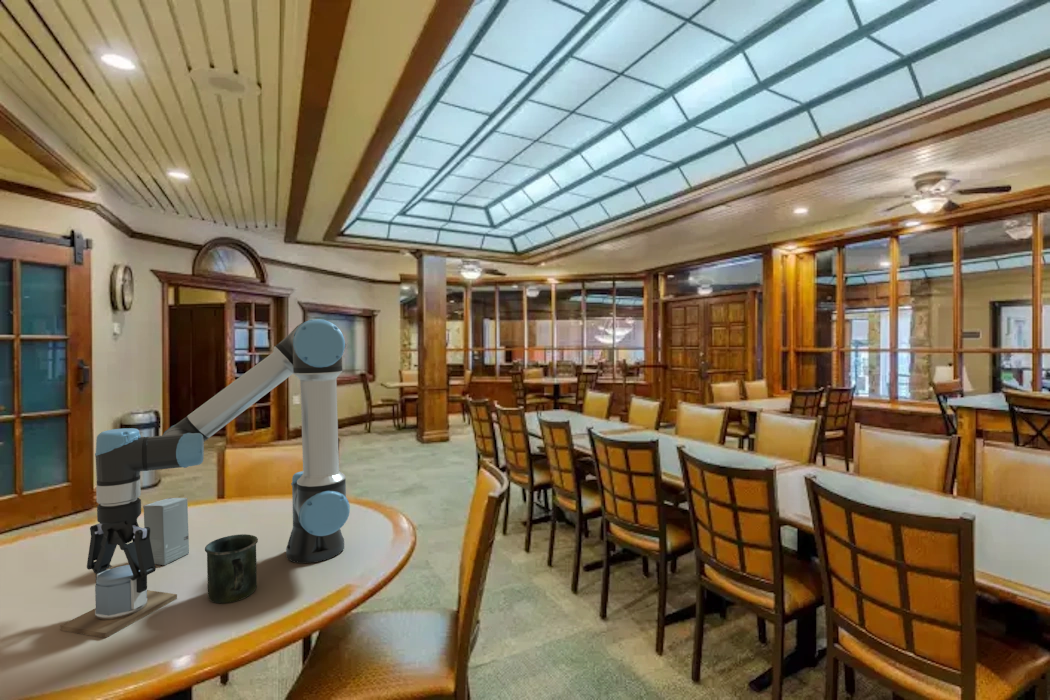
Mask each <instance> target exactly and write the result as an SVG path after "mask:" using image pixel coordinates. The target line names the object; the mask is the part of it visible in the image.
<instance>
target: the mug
mask: <svg viewBox="0 0 1050 700" xmlns="http://www.w3.org/2000/svg"><path fill="white" fill-rule="evenodd" d="M258 543H259V538H258V537H257V536H255V535H252V534H246V533H244V534H243V533H242V534H233V535H227V536H222V537H220V538H217V539H214V540H213V541H211V542H209V543H208V544H206V546H205V548H204V551H205V552H206V561H207V562H206V566H207V567H206V568H207V571H206V572H207V573H206V574H207V578H206V579H207V599H209V601H211V602H212V603H216V604H230V603H234V602H237V601H241V600H244V599H245V598H248V597H249V596H251V595H252V594H253V593H254V592H255V591H256V589H257V585H258V581H257V578H258V577H257V575H258V573H257V572H258V571H257V544H258Z"/></svg>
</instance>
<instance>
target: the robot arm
mask: <svg viewBox="0 0 1050 700" xmlns="http://www.w3.org/2000/svg"><path fill="white" fill-rule="evenodd" d="M345 347H346V340H345V336H344V334H343V332H342V331H341V329H340V328H339V327H338V326H337V325H336V324H334V323H333V322H331V321H329V320H325V319H320V318H319V319H318V318H316V319H309V320H307V321H304V322H302V323H299V324H298V325H296V326H295V327H294V328H293V329H292V330H291V332H290V333H289V334H288V335H287V336H285V337H284V338H283V339H282V340H281V341H280V342H278V343H277V344H276V345H275V346H273V350H272V351H273V352H271V353H270V354H269V355H268V356H266V357H264V358H263V359H262V360H261V361H260V362H258V363H256V365H254V366H252V367H251V368H250V369H249V370H247V371H246V372H245V373H243V374H242V375H240V376H239V377H237V378H236V379H235V380H234V381H232V382H231V383H230V384H228V385H227V386H226V387H224V388H222V389H221V390H220V391H219V392H217V393H216V394H214V396H212V397H211V398H209V399H208V400H207V401H205V402H204V403H203V404H201V405H200V406H199V407H197V408H195V410H194V411H192V412H191V413H189V414H188V415H187V416H186V417H184V418H183V419H181V420H180V421H178V422H177V423H176V424H174V425H171V426H170V427H168V429H166V430H165V431H164V432H163V434H162V435H155V436H141V433H140V430H139V429H138V428H134V427H131V428H130V427H129V428H127V427H126V428H112V429H107V430H104V431H101V432H100V433H99V434H97V436H96V439H95V440H96V444H95V445H96V446H95V453H94V457H95V474H96V484H95V485H96V488H95V489H96V493H95V494H96V496H95V497H96V503H97V504H98V505H97V507H96V519H97V520H96V521H97V522H98V523H97V524H94V525H91V526H90V527H89V530H90V531H89V532H90V541H89V548H88V554H87V555H88V556H87V562H86V563H87V564H86V568H87V570H89V571H90V570H92V571H93V573H94V574H95V579H96V578H97V576H98V575H100V574H101V573H103V572H105V571H107V570H110V569H111V568H112V567H113V566H112V565H111V562H112V559H113V557H114V554H115V551H116V548H117V546H118V547H119V549H120V550H122V551H123V553H124V555H125V558H126V561H127V562H128V565H130V568H131V571H132V573H133V576H134V577H133V578H131V609H136V608H138V607H140V606H141V605H143V604H145V603H146V590H148V575H150V574H152V573H154V572H155V571H156V564H154V558H153V553H152V548H151V542H150V528H149V527H146V528H144V527H140V525H139V524H138V518H139V517H140V516H141V514H142V499H140V498H139V497H141V495H142V494H141V472H149V471H157V470H158V471H160V470H169V469H177V468H178V469H179V468H183V469H185V468H190V467H193V466H199V465H201V464H203V462H204V459H205V458H204V455H205V446H204V445H205V442H206V441H207V440H208V439H209V438H211V437H212V436H214V435H215V434H217V432H218V431H220V430H222V429H223V428H224V427H225V426H226V425H228V424H229V423H231V422H232V421H233V420H234V419H237V417H239V416H240V415H241V414H243V412H245V411H246V410H248V409H249V408H250V407H252V406H253V405H254V404H255V403H257V402H258V401H259V400H260V399H262V398H263V397H264V396H266V395H267V394H268V393H269V392H271V391H273V390H274V389H275V388H276V387H277V386H279V385H280V384H282V383H283V382H284V381H286V379H288V378H290V377H291V376H292V375H294V376H295V377H297V379H298V380H299V383H300V384H299V385H300V410H301V411H300V413H301V414H300V416H301V417H300V419H301V443H302V444H301V445H302V447H301V448H302V449H301V450H302V470H301V471H297V472H295V473H294V474H293V475H292V477H291V486H292V488H291V489H292V490H291V492H292V529H291V532H290V535H289V539H288V542H287V544H286V548H285V551H286V552H285V557H286V559H287V560H288V561H290V562H292V563H299V564H311V563H310V562H312V563H318V562H317V561H319V562H322V560H323V561H327V560H329V558H330V559H332V558H331V557H333V556H335V555H337V554H338V555H340V554H341V553H342V552H343V551H344V550H345V539H344V537H343V534H342V531H341V529H342V528H343V526H344V525H346V522H347V520H348V519H349V516H350V508H351V507H350V503H349V498H347V486H346V485H347V482H346V474H344V473H343V472H342V471H340V464H339V463H340V457H339V456H340V455H339V450H340V449H339V421H338V420H339V419H338V389H337V388H338V384H337V383H338V381H337V379H338V377H339V376H340V375H341V374H342V373H343V355H344V352H345V349H346V348H345ZM343 549H344V550H343ZM342 550H343V551H342ZM341 551H342V552H341ZM340 552H341V553H340ZM339 553H340V554H339ZM338 555H337V556H338ZM335 557H336V556H335ZM333 558H334V557H333ZM326 559H327V560H326ZM139 570H140V571H139Z"/></svg>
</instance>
